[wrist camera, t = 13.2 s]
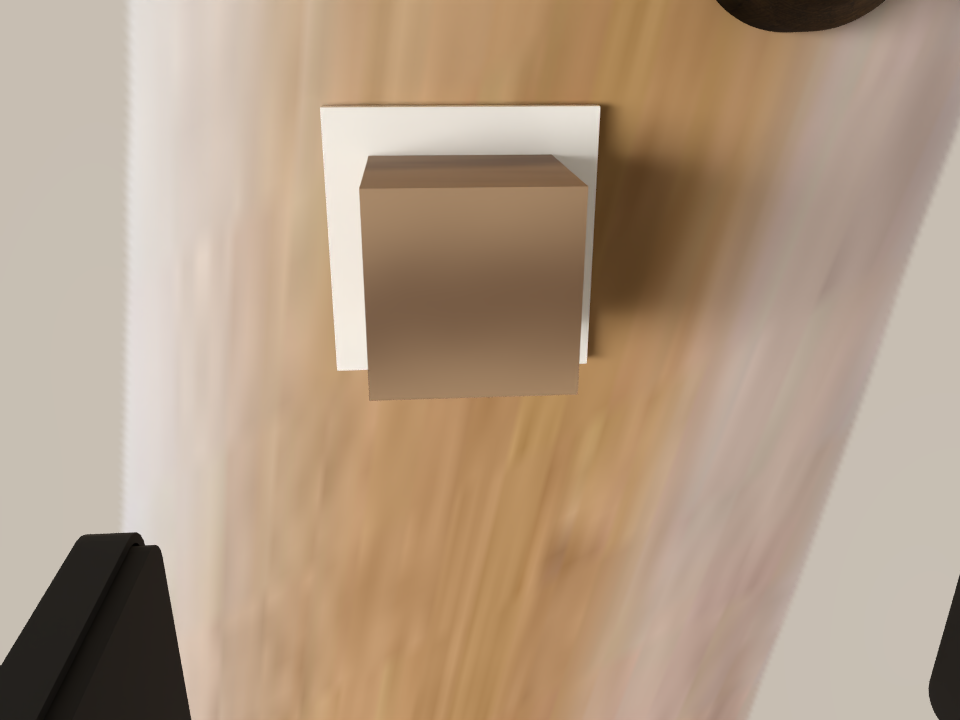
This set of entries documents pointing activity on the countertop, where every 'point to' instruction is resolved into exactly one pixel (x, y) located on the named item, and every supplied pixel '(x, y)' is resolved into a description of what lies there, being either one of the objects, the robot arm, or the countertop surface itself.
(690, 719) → the countertop surface
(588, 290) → the tile pad
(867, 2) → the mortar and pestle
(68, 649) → the robot arm
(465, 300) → the walnut cube
